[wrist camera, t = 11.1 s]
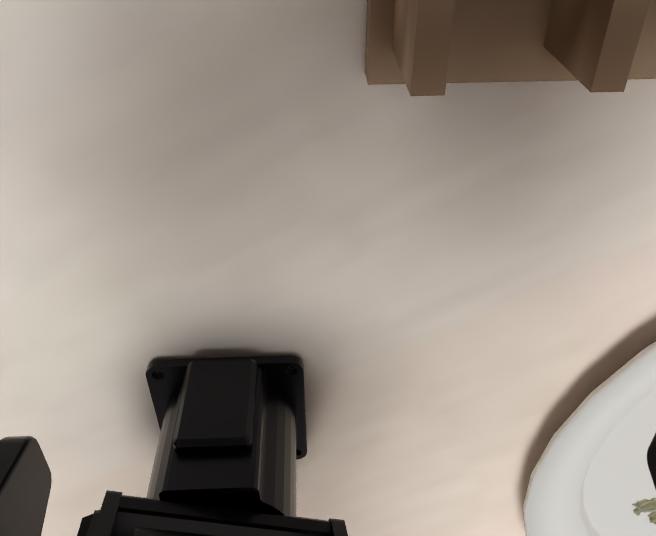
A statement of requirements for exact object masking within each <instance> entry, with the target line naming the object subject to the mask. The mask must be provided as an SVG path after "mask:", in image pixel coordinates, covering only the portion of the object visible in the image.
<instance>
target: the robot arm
mask: <svg viewBox="0 0 656 536" xmlns="http://www.w3.org/2000/svg"><path fill="white" fill-rule="evenodd" d="M288 367H295V368H288ZM156 371H160V372H162V373H159V372H156ZM146 378H147V382H148V386H149V389H150V393H151V397H152V401H153V404H154V408H155V412H156V416H157V419H158V423H159V427H160V431H161V433H160V438H159V443H158V447H157V452H156V456H155V461H154V465H153V470H152V475H151V479H150V484H149V488H148V493H147V497H146V498H141V497H133V496H125V495H122V492H115V491H106V494H105V498H104V501H103V504H102V507H101V510H98V511H97V510H95V511H94V514H91V515H89V516H86V517H84V518H82V521H81V524H80V528H79V531H78V534H77V536H348V534H347V530H346V525H345V521H344V520H338V519H329V521H326V520H318V519H310V518H302V517H296V459H301V458H303V457H305V456H306V454H307V438H306V415H305V392H304V368H303V361H302V360H301V359H300V358H299V357H297V356H263V357H233V358H202V359H172V360H155V361H152V362H150V363H149V365H148V367H147V371H146ZM647 464H648V468H649V471H650V474H651V477H652V480H653V483H654V486H655V489H656V433H655V435H654V437H653V439H652V441H651V443H650V445H649V447H648V450H647ZM50 489H51V472H50V469H49V467H48V464H47V462H46V460H45V457H44V455H43V453H42V450H41V448H40V446H39V444H38V442H37V440H36V439H35V438H33V437H32V436H17V437H5V438H3V439H1V440H0V536H41V532H42V528H43V523H44V518H45V513H46V508H47V503H48V499H49V494H50Z"/></svg>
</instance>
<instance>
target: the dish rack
mask: <svg viewBox="0 0 656 536" xmlns="http://www.w3.org/2000/svg"><path fill="white" fill-rule="evenodd" d="M365 74H366V78H367V82H368V85H369V84H406V85H407V88H408V90H409V93H410V95H411V96H435V95H445V86H446V83H467V82H517V81H566V80H579V81H580V82H581V83H582V84H583V85H584V86H585V87H586V88H587V89H588V90H589V91H590V92H624V89H625V86H626V82H627V79H656V0H367V27H366V59H365Z"/></svg>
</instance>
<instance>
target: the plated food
mask: <svg viewBox="0 0 656 536" xmlns="http://www.w3.org/2000/svg"><path fill="white" fill-rule="evenodd" d="M655 433H656V342H654V343H653V344H651V345H649V346H648V347H646V348H645V349H643V350H642V351H641V352H639V353H638V354H637V355H636V356H635V357H633V358H632V359H631V360H630V361H628V362H627V363H626V364H625V365H624V366H622V367H621V368H620V369H619V370H618V371H616V372H615V373H614V374H613V375H611V376H610V377H609V378H608V379H607V380H605V381H604V382H603V383H602V384H601V385H599V386H598V387H597V388H596V389H595V390H593V391H592V392H591V393H590V394H589V395H588V396H587V397H586V398H585V400H584V401H583V402H582V403H581V404H580V405H579V406H578V407H577V409H576V410H575V411H574V412H573V413H572V414H571V415H570V417H569V418H568V419H567V420H566V421H565V422H564V423H563V425H562V426H561V427H560V428H559V429H558V430H557V431H556V432H555V434H554V435H553V436H552V438H551V440H550V442H549V443H548V445H547V447H546V449H545V450H544V452H543V454H542V456H541V457H540V459H539V461H538V463H537V465H536V466H535V468H534V470H533V472H532V473H531V477H530V481H529V485H528V489H527V493H526V497H525V501H524V505H523V513H524V522H525V531H526V536H656V489H655V486H654V483H653V480H652V477H651V474H650V471H649V468H648V464H647V450H648V447H649V445H650V443H651V441H652V439H653V437H654V435H655Z"/></svg>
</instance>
